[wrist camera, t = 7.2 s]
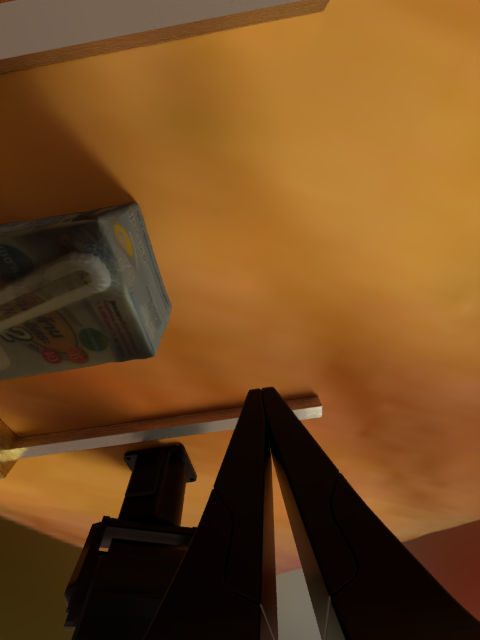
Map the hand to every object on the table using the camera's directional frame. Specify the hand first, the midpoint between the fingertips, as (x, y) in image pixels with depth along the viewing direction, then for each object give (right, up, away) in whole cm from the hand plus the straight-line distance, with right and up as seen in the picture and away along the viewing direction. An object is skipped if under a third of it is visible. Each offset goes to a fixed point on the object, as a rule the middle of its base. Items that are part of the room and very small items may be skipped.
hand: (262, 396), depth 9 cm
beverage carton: (-15, +5, +9) cm, 19 cm away
